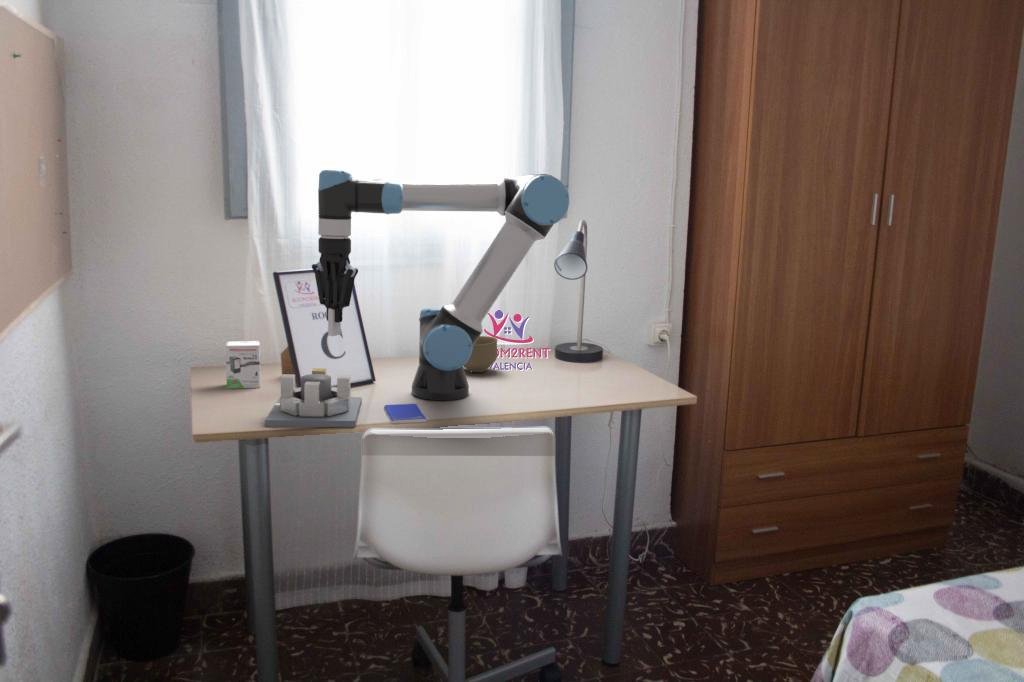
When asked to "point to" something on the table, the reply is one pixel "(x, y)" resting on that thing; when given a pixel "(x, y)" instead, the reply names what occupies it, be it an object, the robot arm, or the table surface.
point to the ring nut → (314, 396)
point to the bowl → (482, 354)
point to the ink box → (243, 364)
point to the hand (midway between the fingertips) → (334, 334)
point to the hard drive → (404, 413)
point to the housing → (337, 420)
